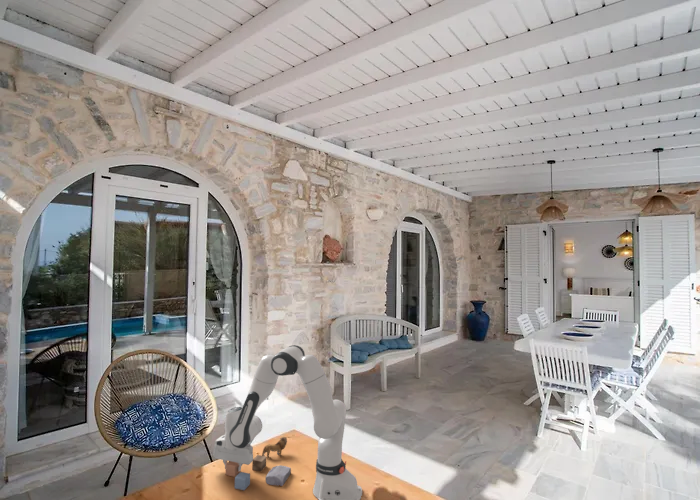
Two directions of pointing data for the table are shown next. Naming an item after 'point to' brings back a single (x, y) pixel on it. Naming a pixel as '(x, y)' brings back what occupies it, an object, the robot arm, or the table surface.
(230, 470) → the terracotta cube
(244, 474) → the slate-blue cube
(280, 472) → the stone block
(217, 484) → the table surface
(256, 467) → the walnut cube
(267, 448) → the lion figurine
